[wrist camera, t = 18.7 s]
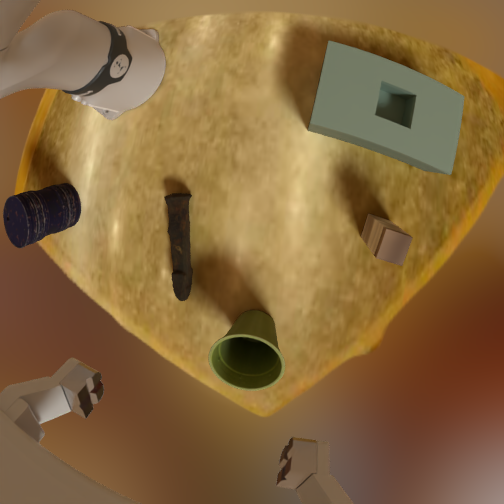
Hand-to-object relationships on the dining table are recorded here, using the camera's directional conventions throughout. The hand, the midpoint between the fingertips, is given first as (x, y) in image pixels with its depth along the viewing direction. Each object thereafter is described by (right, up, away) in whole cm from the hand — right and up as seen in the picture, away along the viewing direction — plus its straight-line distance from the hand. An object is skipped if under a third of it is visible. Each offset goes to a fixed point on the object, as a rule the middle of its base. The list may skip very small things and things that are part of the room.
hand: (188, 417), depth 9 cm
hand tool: (-9, +8, +39) cm, 41 cm away
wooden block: (+22, +10, +32) cm, 41 cm away
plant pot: (+3, -7, +42) cm, 43 cm away
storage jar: (-37, +17, +41) cm, 58 cm away
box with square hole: (+22, +28, +27) cm, 44 cm away
